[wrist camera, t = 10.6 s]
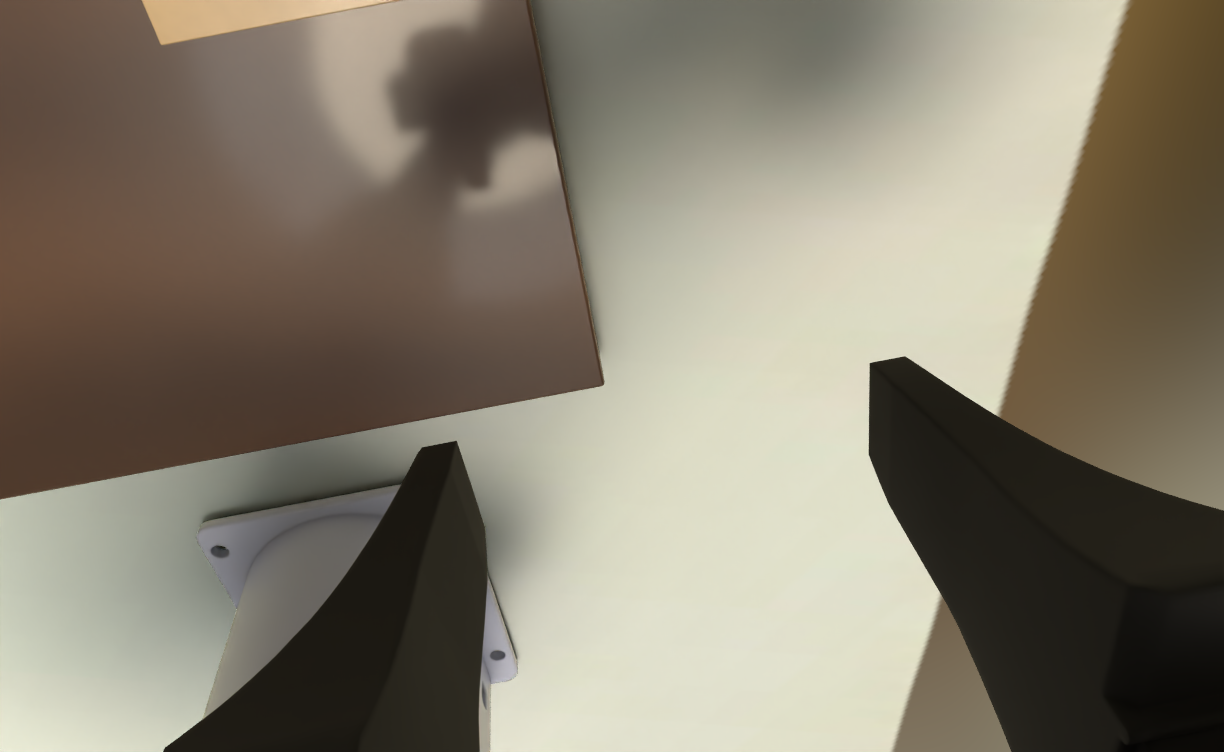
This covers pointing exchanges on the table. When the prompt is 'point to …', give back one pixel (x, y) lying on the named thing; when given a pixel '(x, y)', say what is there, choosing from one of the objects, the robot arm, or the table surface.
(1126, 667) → the robot arm
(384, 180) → the cutting board
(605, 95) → the table surface
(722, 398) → the table surface
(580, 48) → the table surface
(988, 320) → the table surface
